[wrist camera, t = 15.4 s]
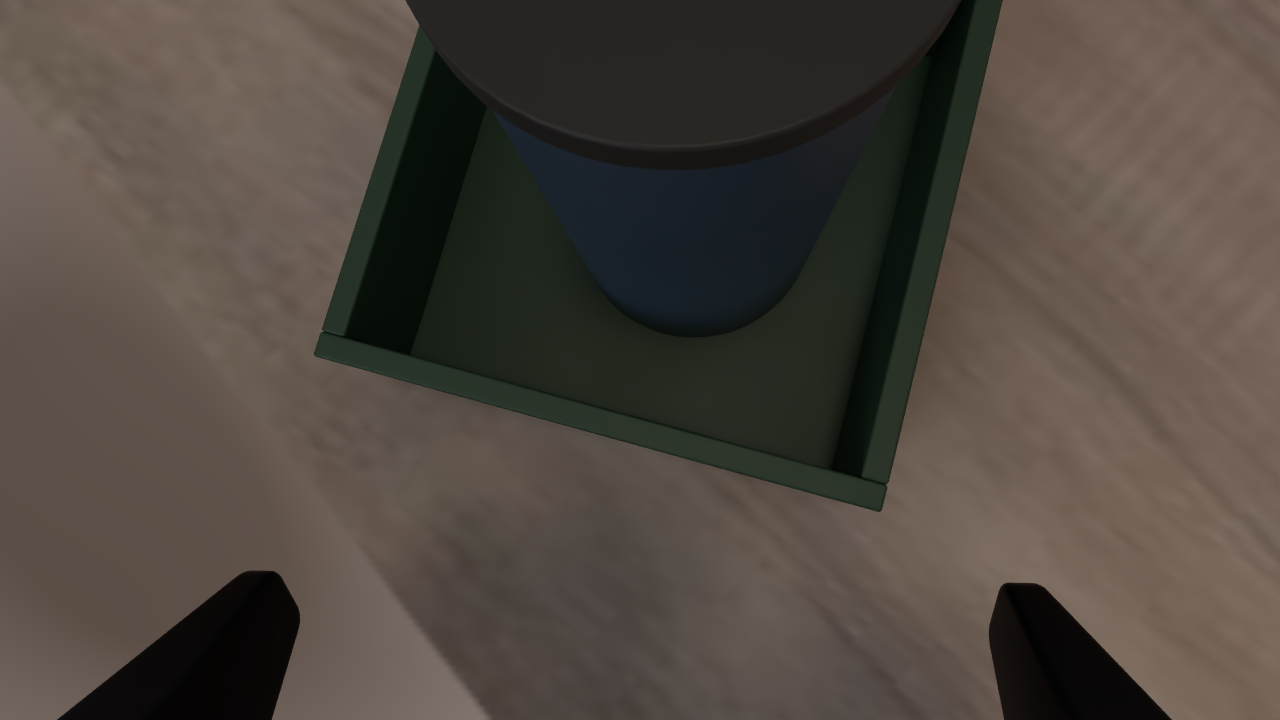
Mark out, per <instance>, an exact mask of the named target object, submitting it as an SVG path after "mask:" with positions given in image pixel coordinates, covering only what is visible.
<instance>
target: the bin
mask: <svg viewBox="0 0 1280 720" xmlns="http://www.w3.org/2000/svg"><path fill="white" fill-rule="evenodd" d="M1002 1H1003V0H961V1H960V3H959V5H958V7H957V8H956V10H955V12H954V14H953V15H952V17H951V19H950V21H949V22H948V24H947V26H946V28H945V29H944V31H943V32H942V34H941V35H940V36H939V37H938V39H937V40H936V41H935V43H934V44H933V45H932V46H931V48H930V49H929V50H928V52H927V53H926V54H925V56H924V57H923V58H922V59H921V61H920V62H919V63H918V64H917V65H916V66H915V67H914V68H913V69H912V70H911V71H910V72H909V73H908V74H907V75H906V76H905V77H904V78H903V79H902V80H901V81H900V82H899V83H898V84H897V86H896V88H895V90H894V92H893V94H892V96H891V97H890V99H889V101H888V103H887V105H886V107H885V109H884V111H883V113H882V115H881V117H880V119H879V121H878V123H877V125H876V127H875V129H874V130H873V132H872V134H871V136H870V138H869V140H868V142H867V144H866V146H865V148H864V150H863V152H862V154H861V156H860V158H859V160H858V162H857V164H856V165H855V167H854V169H853V171H852V173H851V175H850V177H849V179H848V181H847V183H846V185H845V187H844V189H843V191H842V193H841V195H840V197H839V198H838V200H837V202H836V204H835V206H834V208H833V210H832V212H831V214H830V216H829V218H828V220H827V222H826V224H825V226H824V228H823V230H822V232H821V233H820V235H819V237H818V239H817V241H816V243H815V245H814V247H813V249H812V251H811V253H810V255H809V257H808V259H807V261H806V263H805V265H804V266H803V268H802V270H801V272H800V274H799V276H798V278H797V279H796V281H795V283H794V285H793V286H792V287H791V289H790V290H789V291H788V293H787V294H786V295H785V296H784V298H783V299H782V300H781V301H780V302H779V303H778V304H777V305H776V306H775V307H774V308H773V309H771V310H770V311H769V312H767V313H766V314H765V315H763V316H762V317H761V318H759V319H757V320H756V321H754V322H752V323H750V324H749V325H747V326H744V327H742V328H740V329H737V330H735V331H732V332H728V333H725V334H721V335H716V336H709V337H681V336H673V335H669V334H665V333H661V332H657V331H655V330H652V329H650V328H647V327H645V326H643V325H641V324H639V323H637V322H636V321H634V320H632V319H630V318H629V317H628V316H626V315H625V314H624V313H622V312H621V311H620V310H619V309H618V308H617V307H616V306H615V305H614V304H613V303H612V302H610V301H609V300H608V298H607V297H606V296H605V294H604V293H603V292H602V291H601V289H600V288H599V286H598V285H597V283H596V281H595V280H594V278H593V276H592V275H591V273H590V271H589V270H588V268H587V266H586V265H585V263H584V261H583V260H582V258H581V256H580V255H579V253H578V251H577V250H576V248H575V246H574V245H573V243H572V242H571V240H570V238H569V237H568V235H567V233H566V232H565V230H564V228H563V227H562V225H561V223H560V222H559V220H558V218H557V217H556V215H555V213H554V212H553V210H552V208H551V207H550V205H549V203H548V202H547V200H546V198H545V197H544V195H543V193H542V192H541V190H540V188H539V187H538V185H537V183H536V182H535V180H534V178H533V177H532V175H531V173H530V172H529V170H528V168H527V167H526V165H525V164H524V162H523V160H522V159H521V157H520V155H519V154H518V152H517V150H516V149H515V147H514V145H513V144H512V142H511V140H510V139H509V137H508V135H507V134H506V132H505V130H504V129H503V127H502V125H501V124H500V122H499V120H498V119H497V117H496V115H495V114H494V112H493V110H492V109H491V108H489V107H488V106H486V105H485V104H484V103H483V102H482V101H481V100H480V99H479V98H478V97H477V96H475V95H474V94H473V93H472V92H471V91H470V90H469V89H468V88H467V87H466V86H465V85H464V84H463V83H462V82H461V81H460V80H459V79H458V78H457V77H456V75H455V74H454V73H453V72H452V70H451V69H450V68H449V66H448V65H447V64H446V63H445V61H444V60H443V59H442V57H441V56H440V55H439V54H438V52H437V51H436V50H435V48H434V47H433V45H432V44H431V42H430V40H429V39H428V37H427V36H426V34H425V33H424V31H423V30H422V28H421V27H420V26H419V29H418V32H417V35H416V38H415V41H414V45H413V48H412V51H411V54H410V57H409V60H408V63H407V66H406V69H405V73H404V76H403V79H402V82H401V85H400V88H399V91H398V94H397V97H396V101H395V104H394V107H393V110H392V113H391V116H390V119H389V122H388V125H387V129H386V132H385V135H384V138H383V141H382V144H381V147H380V150H379V153H378V157H377V160H376V163H375V166H374V169H373V172H372V175H371V178H370V181H369V185H368V188H367V191H366V194H365V197H364V200H363V203H362V206H361V209H360V213H359V216H358V219H357V222H356V225H355V228H354V231H353V234H352V237H351V241H350V244H349V247H348V250H347V253H346V256H345V259H344V262H343V265H342V269H341V272H340V275H339V278H338V281H337V284H336V287H335V290H334V293H333V296H332V300H331V303H330V306H329V309H328V312H327V315H326V318H325V321H324V324H323V328H322V330H323V331H324V332H321V334H320V336H319V340H318V343H317V346H316V349H315V352H314V355H315V356H316V357H319V358H323V359H327V360H330V361H334V362H337V363H341V364H345V365H348V366H352V367H356V368H359V369H363V370H366V371H370V372H374V373H377V374H381V375H385V376H388V377H392V378H395V379H399V380H403V381H406V382H410V383H414V384H417V385H421V386H424V387H428V388H432V389H435V390H439V391H443V392H446V393H450V394H453V395H457V396H461V397H464V398H468V399H471V400H475V401H479V402H482V403H486V404H490V405H493V406H497V407H500V408H504V409H508V410H511V411H515V412H519V413H522V414H526V415H529V416H533V417H537V418H540V419H544V420H548V421H551V422H555V423H558V424H562V425H566V426H569V427H573V428H577V429H580V430H584V431H587V432H591V433H595V434H598V435H602V436H606V437H609V438H613V439H616V440H620V441H624V442H627V443H631V444H635V445H638V446H642V447H645V448H649V449H653V450H656V451H660V452H664V453H667V454H671V455H674V456H678V457H682V458H685V459H689V460H693V461H696V462H700V463H703V464H707V465H711V466H714V467H718V468H722V469H725V470H729V471H732V472H736V473H740V474H743V475H747V476H751V477H754V478H758V479H761V480H765V481H769V482H772V483H776V484H779V485H783V486H787V487H790V488H794V489H798V490H801V491H805V492H808V493H812V494H816V495H819V496H823V497H827V498H830V499H834V500H837V501H841V502H845V503H848V504H852V505H856V506H859V507H863V508H866V509H870V510H874V511H877V512H880V511H881V510H882V508H883V503H884V499H885V495H886V491H887V486H886V485H885V484H888V482H889V478H890V474H891V470H892V466H893V461H894V457H895V453H896V449H897V444H898V440H899V436H900V432H901V427H902V423H903V419H904V415H905V411H906V406H907V402H908V398H909V394H910V389H911V385H912V381H913V377H914V373H915V368H916V364H917V360H918V356H919V351H920V347H921V343H922V339H923V335H924V330H925V326H926V322H927V318H928V313H929V309H930V305H931V301H932V296H933V292H934V288H935V284H936V280H937V275H938V271H939V267H940V263H941V258H942V254H943V250H944V246H945V242H946V237H947V233H948V229H949V225H950V220H951V216H952V212H953V208H954V204H955V199H956V195H957V191H958V187H959V182H960V178H961V174H962V170H963V165H964V161H965V157H966V153H967V149H968V144H969V140H970V136H971V132H972V127H973V123H974V119H975V115H976V111H977V106H978V102H979V98H980V94H981V89H982V85H983V81H984V77H985V73H986V68H987V64H988V60H989V56H990V51H991V47H992V43H993V39H994V35H995V30H996V26H997V22H998V18H999V13H1000V9H1001V5H1002Z"/></svg>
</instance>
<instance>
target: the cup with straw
mask: <svg viewBox="0 0 1280 720" xmlns="http://www.w3.org/2000/svg"><path fill="white" fill-rule="evenodd" d="M960 1H961V0H406V2H407V4H408V5H409V7H410V9H411V11H412V12H413V14H414V16H415V18H416V20H417V21H418V23H419V25H420V27H421V28H422V30H423V31H424V33H425V34H426V36H427V37H428V39H429V40H430V42H431V44H432V45H433V47H434V48H435V50H436V51H437V52H438V54H439V55H440V56H441V57H442V59H443V60H444V61H445V63H446V64H447V65H448V66H449V68H450V69H451V70H452V72H453V73H454V74H455V75H456V77H457V78H458V79H459V80H460V81H461V82H462V83H463V84H464V85H465V86H466V87H467V88H468V89H469V90H470V91H471V92H472V93H473V94H474V95H475V96H477V97H478V98H479V99H480V100H481V101H482V102H483V103H484V104H485V105H486V106H488V107H489V108H491V109H492V110H493V112H494V114H495V115H496V117H497V119H498V120H499V122H500V124H501V125H502V127H503V129H504V130H505V132H506V134H507V135H508V137H509V139H510V140H511V142H512V144H513V145H514V147H515V149H516V150H517V152H518V154H519V155H520V157H521V159H522V160H523V162H524V164H525V165H526V167H527V168H528V170H529V172H530V173H531V175H532V177H533V178H534V180H535V182H536V183H537V185H538V187H539V188H540V190H541V192H542V193H543V195H544V197H545V198H546V200H547V202H548V203H549V205H550V207H551V208H552V210H553V212H554V213H555V215H556V217H557V218H558V220H559V222H560V223H561V225H562V227H563V228H564V230H565V232H566V233H567V235H568V237H569V238H570V240H571V242H572V243H573V245H574V246H575V248H576V250H577V251H578V253H579V255H580V256H581V258H582V260H583V261H584V263H585V265H586V266H587V268H588V270H589V271H590V273H591V275H592V276H593V278H594V280H595V281H596V283H597V285H598V286H599V288H600V289H601V291H602V292H603V293H604V294H605V296H606V297H607V298H608V300H609V301H610V302H612V303H613V304H614V305H615V306H616V307H617V308H618V309H619V310H620V311H621V312H622V313H624V314H625V315H626V316H628V317H629V318H630V319H632V320H634V321H636V322H637V323H639V324H641V325H643V326H645V327H647V328H650V329H652V330H655V331H657V332H661V333H665V334H669V335H673V336H681V337H709V336H716V335H721V334H725V333H728V332H732V331H735V330H737V329H740V328H742V327H744V326H747V325H749V324H750V323H752V322H754V321H756V320H757V319H759V318H761V317H762V316H763V315H765V314H766V313H767V312H769V311H770V310H771V309H773V308H774V307H775V306H776V305H777V304H778V303H779V302H780V301H781V300H782V299H783V298H784V296H785V295H786V294H787V293H788V291H789V290H790V289H791V287H792V286H793V285H794V283H795V281H796V279H797V278H798V276H799V274H800V272H801V270H802V268H803V266H804V265H805V263H806V261H807V259H808V257H809V255H810V253H811V251H812V249H813V247H814V245H815V243H816V241H817V239H818V237H819V235H820V233H821V232H822V230H823V228H824V226H825V224H826V222H827V220H828V218H829V216H830V214H831V212H832V210H833V208H834V206H835V204H836V202H837V200H838V198H839V197H840V195H841V193H842V191H843V189H844V187H845V185H846V183H847V181H848V179H849V177H850V175H851V173H852V171H853V169H854V167H855V165H856V164H857V162H858V160H859V158H860V156H861V154H862V152H863V150H864V148H865V146H866V144H867V142H868V140H869V138H870V136H871V134H872V132H873V130H874V129H875V127H876V125H877V123H878V121H879V119H880V117H881V115H882V113H883V111H884V109H885V107H886V105H887V103H888V101H889V99H890V97H891V96H892V94H893V92H894V90H895V88H896V86H897V84H898V83H899V82H900V81H901V80H902V79H903V78H904V77H905V76H906V75H907V74H908V73H909V72H910V71H911V70H912V69H913V68H914V67H915V66H916V65H917V64H918V63H919V62H920V61H921V59H922V58H923V57H924V56H925V54H926V53H927V52H928V50H929V49H930V48H931V46H932V45H933V44H934V43H935V41H936V40H937V39H938V37H939V36H940V35H941V34H942V32H943V31H944V29H945V28H946V26H947V24H948V22H949V21H950V19H951V17H952V15H953V14H954V12H955V10H956V8H957V7H958V5H959V3H960Z"/></svg>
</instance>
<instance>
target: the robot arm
mask: <svg viewBox="0 0 1280 720" xmlns="http://www.w3.org/2000/svg"><path fill="white" fill-rule="evenodd" d="M299 624H300V613H299V609H298V606H297V605H296V603H295V601H294V599H293V597H292V595H291V594H290V592H289V590H288V588H287V587H286V585H285V583H284V581H283V579H282V578H281V576H280V575H279V574H278V573H276V572H274V571H247V572H244V573H242V574H240V575H238V576H237V577H236V578H234V579H233V580H232V581H231V582H229V583H228V584H227V585H226V586H224V587H223V588H222V589H221V590H219V591H218V592H217V593H216V594H214V595H213V596H212V597H210V598H209V599H208V600H207V601H206V602H204V603H203V604H202V605H200V606H199V607H198V608H197V609H196V610H194V611H193V612H192V613H190V614H189V615H188V616H187V617H185V618H184V619H183V620H182V621H180V622H179V623H178V624H177V625H175V626H174V627H173V628H172V629H170V630H169V631H168V632H167V633H165V634H164V635H163V636H162V637H160V638H159V639H158V640H156V641H155V642H154V643H153V644H152V645H150V646H149V647H148V648H146V649H145V650H144V651H143V652H141V653H140V654H139V655H138V656H136V657H135V658H134V659H133V660H131V661H130V662H129V663H128V664H126V665H125V666H124V667H123V668H121V669H120V670H119V671H118V672H116V673H115V674H114V675H113V676H111V677H110V678H109V679H108V680H106V681H105V682H104V683H103V684H101V685H100V686H99V687H97V688H96V689H95V690H94V691H93V692H91V693H90V694H89V695H87V696H86V697H85V698H84V699H83V700H81V701H80V702H79V703H78V704H76V705H75V706H74V707H72V708H71V709H70V710H69V711H68V712H66V713H65V714H64V715H62V716H61V717H60V718H59V719H57V720H272V717H273V713H274V710H275V706H276V703H277V700H278V696H279V693H280V690H281V686H282V683H283V680H284V676H285V673H286V670H287V666H288V663H289V660H290V656H291V653H292V649H293V646H294V643H295V639H296V636H297V632H298V629H299ZM989 642H990V649H991V654H992V659H993V664H994V669H995V674H996V680H997V685H998V690H999V695H1000V700H1001V705H1002V711H1003V716H1004V720H1172V719H1171V718H1170V717H1169V716H1168V715H1167V714H1166V713H1165V712H1164V711H1163V710H1162V709H1161V708H1160V707H1159V706H1158V705H1157V704H1156V703H1155V702H1154V701H1153V700H1152V699H1151V697H1150V696H1149V695H1148V694H1147V693H1146V692H1145V691H1144V690H1143V689H1142V688H1141V687H1140V686H1139V685H1138V684H1137V683H1136V682H1135V681H1134V680H1133V679H1132V678H1131V677H1130V676H1129V675H1128V674H1127V673H1126V672H1125V670H1124V669H1123V668H1122V667H1121V666H1120V665H1119V664H1118V663H1117V662H1116V661H1115V660H1114V659H1113V658H1112V657H1111V656H1110V655H1109V654H1108V653H1107V652H1106V651H1105V650H1104V649H1103V648H1102V647H1101V646H1100V645H1099V643H1098V642H1097V641H1096V640H1095V639H1094V638H1093V637H1092V636H1091V635H1090V634H1089V633H1088V632H1087V631H1086V630H1085V629H1084V628H1083V627H1082V626H1081V625H1080V624H1079V623H1078V622H1077V621H1076V620H1075V619H1074V618H1073V616H1072V615H1071V614H1070V613H1069V612H1068V611H1067V610H1066V609H1065V608H1064V607H1063V606H1062V605H1061V604H1060V603H1059V602H1058V601H1057V600H1056V599H1055V598H1054V597H1053V596H1052V595H1051V594H1050V593H1049V592H1048V591H1047V590H1046V589H1045V588H1044V587H1042V586H1041V585H1039V584H1035V583H1005V584H1003V585H1002V586H1001V588H1000V590H999V593H998V596H997V600H996V603H995V607H994V611H993V614H992V618H991V621H990V626H989Z"/></svg>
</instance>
